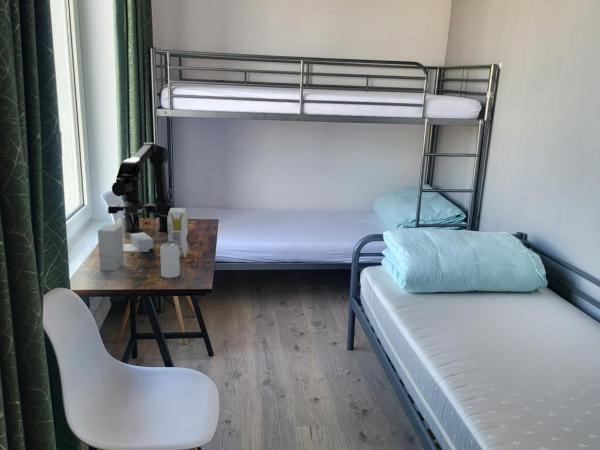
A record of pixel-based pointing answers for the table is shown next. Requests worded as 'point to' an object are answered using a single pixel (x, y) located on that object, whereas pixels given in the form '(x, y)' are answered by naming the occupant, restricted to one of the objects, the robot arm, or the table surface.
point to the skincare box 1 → (111, 247)
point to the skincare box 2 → (141, 241)
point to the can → (170, 259)
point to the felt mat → (132, 248)
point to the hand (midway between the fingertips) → (133, 228)
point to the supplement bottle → (128, 224)
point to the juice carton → (178, 229)
